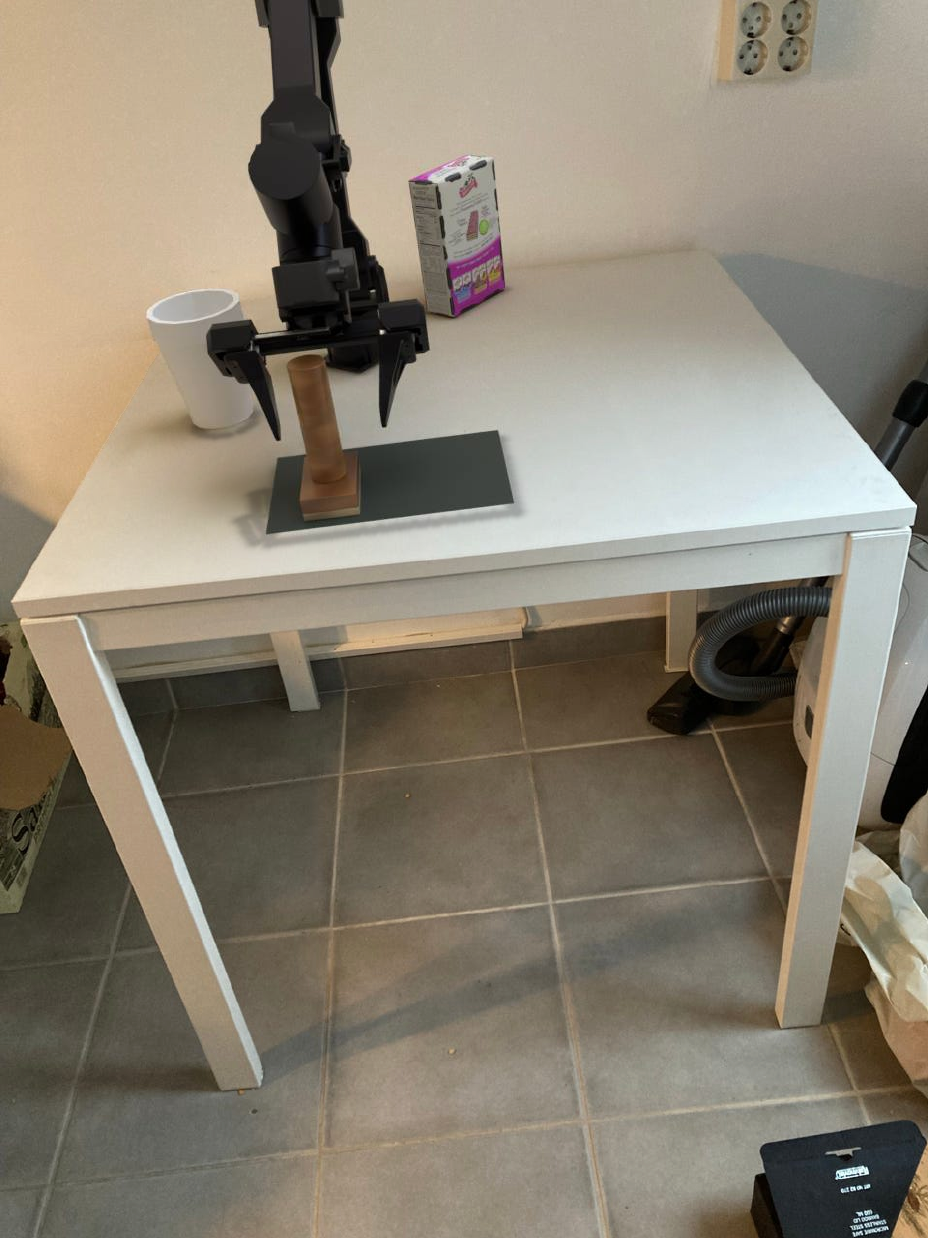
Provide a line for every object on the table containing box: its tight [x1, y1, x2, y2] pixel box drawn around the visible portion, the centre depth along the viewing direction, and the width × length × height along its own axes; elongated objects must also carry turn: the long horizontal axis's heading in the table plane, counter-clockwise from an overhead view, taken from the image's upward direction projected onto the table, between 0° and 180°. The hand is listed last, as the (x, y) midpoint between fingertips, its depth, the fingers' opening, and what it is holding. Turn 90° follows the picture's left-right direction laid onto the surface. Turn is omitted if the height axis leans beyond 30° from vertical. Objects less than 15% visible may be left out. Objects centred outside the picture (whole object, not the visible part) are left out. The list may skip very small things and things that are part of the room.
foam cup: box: [146, 287, 254, 430], centre depth 103 cm, size 10×9×13 cm
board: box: [265, 429, 515, 535], centre depth 92 cm, size 22×14×1 cm, turn 94°
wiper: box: [286, 353, 361, 521], centre depth 86 cm, size 5×8×13 cm, turn 4°
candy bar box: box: [407, 154, 506, 318], centre depth 123 cm, size 11×5×16 cm, turn 141°
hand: (330, 432), depth 85 cm, fingers open, 9 cm apart
